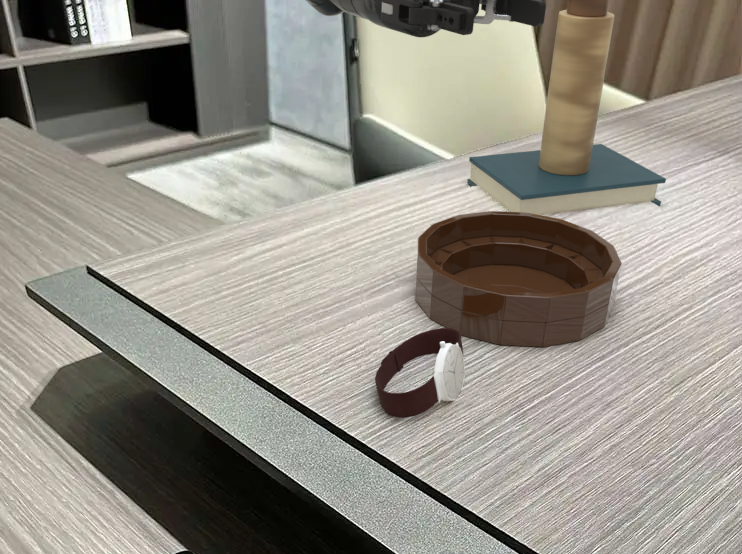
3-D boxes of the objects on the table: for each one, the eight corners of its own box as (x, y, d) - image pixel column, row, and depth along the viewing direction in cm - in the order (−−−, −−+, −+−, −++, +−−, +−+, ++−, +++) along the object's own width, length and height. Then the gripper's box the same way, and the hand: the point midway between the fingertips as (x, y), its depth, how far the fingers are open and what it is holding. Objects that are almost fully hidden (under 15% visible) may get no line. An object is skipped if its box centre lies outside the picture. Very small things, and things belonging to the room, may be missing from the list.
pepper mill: (572, 157, 75) (599, -18, 68) (598, 173, 72) (630, -10, 64) (529, 161, 74) (552, -16, 66) (554, 177, 70) (581, -8, 63)
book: (597, 168, 80) (601, 143, 79) (660, 205, 72) (666, 178, 71) (466, 182, 76) (469, 157, 75) (518, 223, 68) (521, 195, 67)
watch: (433, 439, 43) (438, 382, 41) (354, 414, 45) (355, 359, 43) (480, 368, 49) (486, 315, 47) (408, 348, 51) (411, 297, 49)
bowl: (546, 251, 64) (553, 203, 62) (649, 335, 53) (662, 280, 51) (387, 273, 60) (389, 223, 58) (463, 368, 49) (469, 310, 47)
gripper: (344, -44, 80) (449, -22, 68) (457, -51, 86) (570, -32, 75) (343, 36, 83) (442, 70, 72) (452, 24, 90) (558, 53, 79)
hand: (507, 18), depth 73 cm, fingers open, 8 cm apart
